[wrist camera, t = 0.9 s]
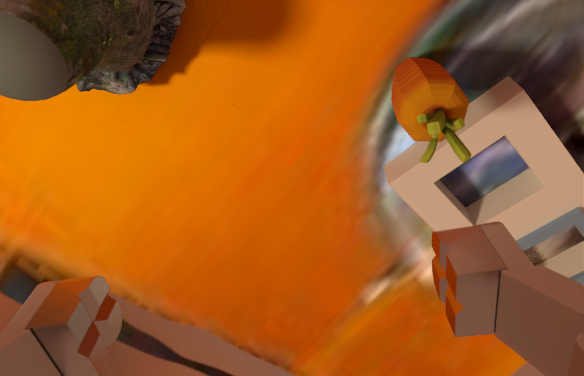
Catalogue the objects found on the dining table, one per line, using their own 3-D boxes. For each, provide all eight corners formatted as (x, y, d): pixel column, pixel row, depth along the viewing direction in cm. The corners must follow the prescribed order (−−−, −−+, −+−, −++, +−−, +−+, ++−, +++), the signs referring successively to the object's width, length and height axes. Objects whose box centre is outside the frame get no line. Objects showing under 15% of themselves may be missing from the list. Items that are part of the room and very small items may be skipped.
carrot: (439, 81, 39) (497, 165, 27) (386, 98, 40) (417, 186, 28) (429, 28, 37) (488, 93, 24) (373, 48, 38) (401, 120, 26)
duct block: (508, 75, 39) (526, 92, 35) (625, 238, 48) (649, 264, 45) (383, 166, 45) (389, 188, 41) (510, 295, 54) (523, 322, 51)
